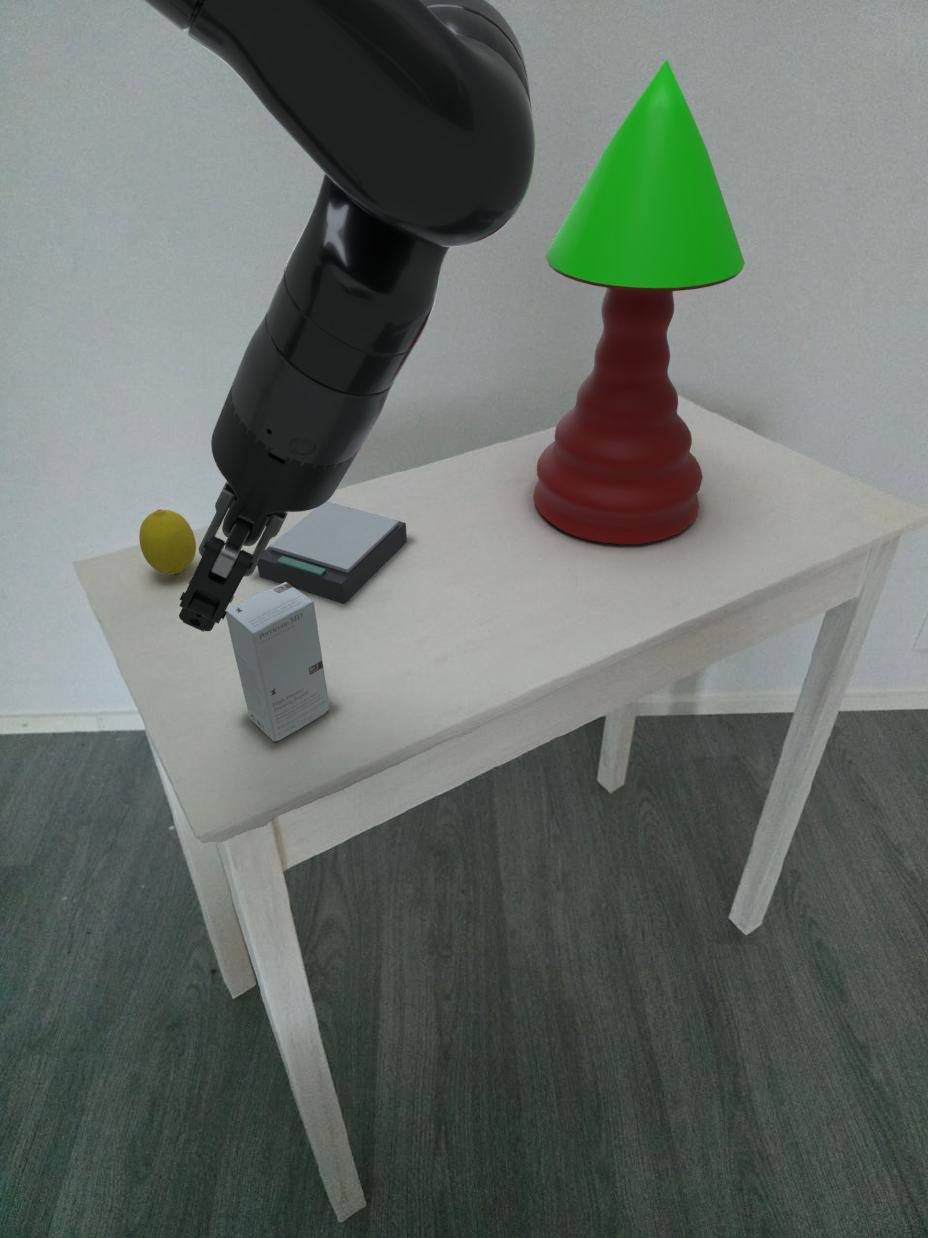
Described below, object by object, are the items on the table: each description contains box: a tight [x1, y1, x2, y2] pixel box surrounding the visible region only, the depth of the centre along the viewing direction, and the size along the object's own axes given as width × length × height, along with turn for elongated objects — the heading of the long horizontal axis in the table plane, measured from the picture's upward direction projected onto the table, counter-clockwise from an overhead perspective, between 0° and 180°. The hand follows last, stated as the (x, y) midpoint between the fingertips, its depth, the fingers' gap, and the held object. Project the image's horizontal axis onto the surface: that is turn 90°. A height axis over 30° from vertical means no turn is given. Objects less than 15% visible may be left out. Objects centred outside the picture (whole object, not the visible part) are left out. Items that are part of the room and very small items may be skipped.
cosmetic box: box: [225, 582, 330, 742], centre depth 70 cm, size 6×4×12 cm
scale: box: [256, 501, 408, 604], centre depth 92 cm, size 13×11×3 cm
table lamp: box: [532, 58, 746, 545], centre depth 87 cm, size 20×20×45 cm
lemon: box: [138, 508, 197, 575], centre depth 88 cm, size 6×6×8 cm
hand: (218, 575), depth 56 cm, fingers open, 8 cm apart
